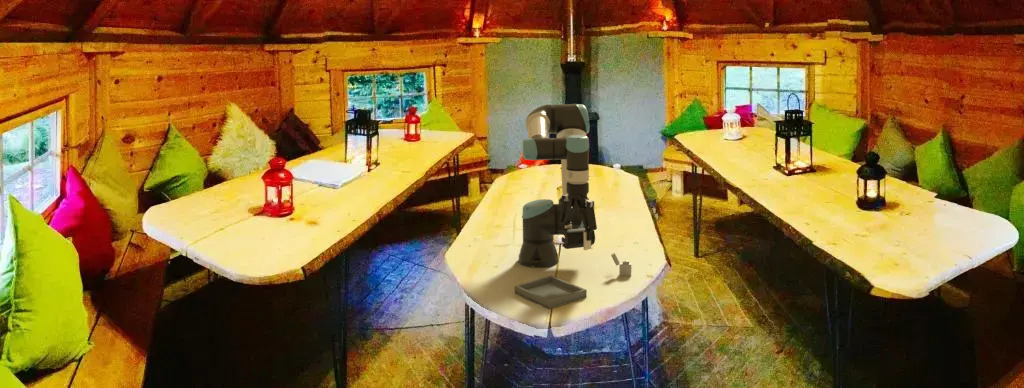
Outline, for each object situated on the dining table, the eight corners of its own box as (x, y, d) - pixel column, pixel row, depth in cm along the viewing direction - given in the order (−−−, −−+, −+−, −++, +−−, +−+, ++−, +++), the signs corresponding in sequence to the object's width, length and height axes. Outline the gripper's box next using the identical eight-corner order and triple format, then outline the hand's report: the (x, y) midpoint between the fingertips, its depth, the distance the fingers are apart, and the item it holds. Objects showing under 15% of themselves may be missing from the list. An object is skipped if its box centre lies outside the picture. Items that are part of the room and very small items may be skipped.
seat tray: (514, 293, 238) (514, 285, 238) (551, 282, 248) (551, 275, 247) (549, 309, 224) (548, 301, 224) (586, 297, 234) (586, 289, 233)
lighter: (631, 274, 254) (631, 253, 252) (631, 276, 252) (631, 254, 251) (611, 274, 255) (611, 252, 253) (611, 275, 253) (611, 254, 251)
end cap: (568, 251, 239) (567, 232, 237) (560, 246, 245) (560, 227, 244) (595, 248, 241) (595, 229, 240) (587, 242, 248) (587, 224, 247)
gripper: (548, 178, 244) (548, 241, 249) (591, 188, 228) (591, 255, 233) (564, 175, 249) (564, 237, 254) (608, 185, 232) (607, 251, 237)
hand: (577, 246), depth 243 cm, fingers closed on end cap, 9 cm apart
